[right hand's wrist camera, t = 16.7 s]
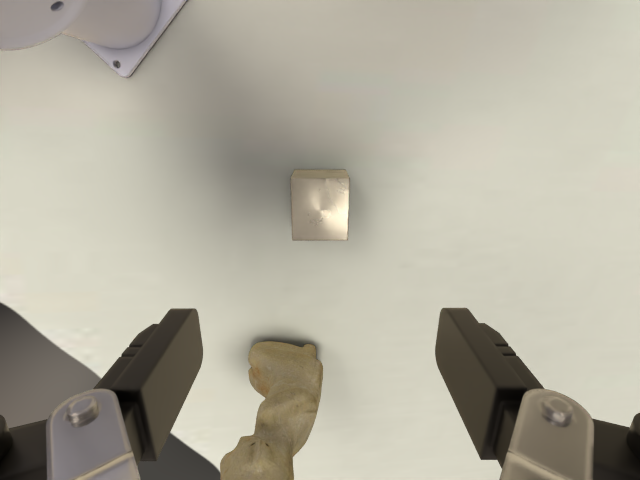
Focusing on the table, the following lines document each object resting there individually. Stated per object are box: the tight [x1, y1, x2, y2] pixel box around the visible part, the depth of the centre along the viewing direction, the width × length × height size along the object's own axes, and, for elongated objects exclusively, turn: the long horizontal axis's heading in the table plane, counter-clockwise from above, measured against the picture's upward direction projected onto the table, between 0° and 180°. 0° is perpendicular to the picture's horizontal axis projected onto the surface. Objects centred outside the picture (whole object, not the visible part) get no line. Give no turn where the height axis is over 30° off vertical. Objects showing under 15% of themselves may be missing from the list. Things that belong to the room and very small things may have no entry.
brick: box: [291, 170, 350, 240], centre depth 28 cm, size 4×5×4 cm
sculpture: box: [220, 341, 323, 480], centre depth 28 cm, size 6×7×15 cm
